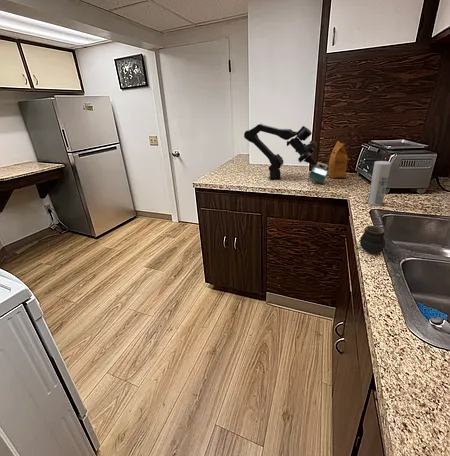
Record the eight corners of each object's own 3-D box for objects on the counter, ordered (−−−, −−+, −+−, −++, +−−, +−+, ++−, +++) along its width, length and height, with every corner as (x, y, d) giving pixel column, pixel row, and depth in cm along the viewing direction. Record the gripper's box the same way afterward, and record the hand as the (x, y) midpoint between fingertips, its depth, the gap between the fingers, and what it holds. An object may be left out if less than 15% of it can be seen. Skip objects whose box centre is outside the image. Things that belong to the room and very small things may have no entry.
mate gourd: (387, 250, 83) (393, 224, 79) (376, 259, 79) (382, 231, 75) (365, 242, 88) (370, 216, 85) (354, 249, 84) (358, 223, 81)
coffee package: (341, 173, 167) (345, 140, 159) (346, 178, 156) (351, 143, 147) (325, 173, 169) (329, 140, 160) (329, 178, 158) (333, 144, 149)
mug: (324, 181, 153) (331, 164, 148) (322, 185, 147) (329, 167, 141) (310, 176, 157) (317, 159, 151) (307, 180, 150) (314, 162, 144)
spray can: (372, 199, 123) (380, 160, 115) (385, 204, 118) (394, 162, 110) (364, 202, 120) (371, 162, 113) (377, 207, 115) (385, 164, 107)
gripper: (305, 138, 137) (324, 159, 136) (312, 134, 152) (329, 153, 151) (290, 152, 144) (308, 172, 143) (298, 147, 159) (315, 164, 158)
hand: (316, 165), depth 148 cm, fingers closed, pressing on mug
